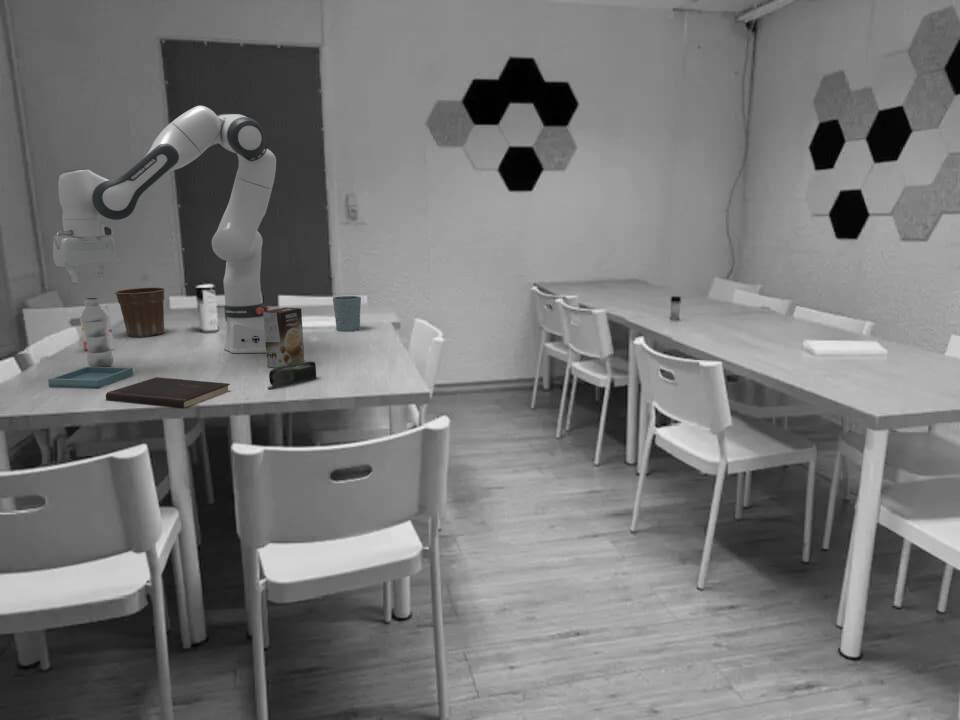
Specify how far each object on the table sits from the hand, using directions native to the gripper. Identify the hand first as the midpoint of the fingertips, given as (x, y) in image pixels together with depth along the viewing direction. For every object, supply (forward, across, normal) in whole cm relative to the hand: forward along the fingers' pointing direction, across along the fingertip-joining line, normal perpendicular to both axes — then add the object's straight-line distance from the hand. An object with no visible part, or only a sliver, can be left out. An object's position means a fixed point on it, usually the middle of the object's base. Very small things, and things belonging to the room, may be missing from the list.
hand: (88, 280), depth 189 cm
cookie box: (+25, +9, -52) cm, 59 cm away
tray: (+25, -14, -8) cm, 30 cm away
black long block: (+25, -11, -63) cm, 68 cm away
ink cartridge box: (+25, +23, +18) cm, 39 cm away
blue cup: (+24, +66, -51) cm, 87 cm away
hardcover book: (+25, -25, -37) cm, 51 cm away
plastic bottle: (+25, 0, 0) cm, 25 cm away
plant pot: (+25, +50, +20) cm, 59 cm away
